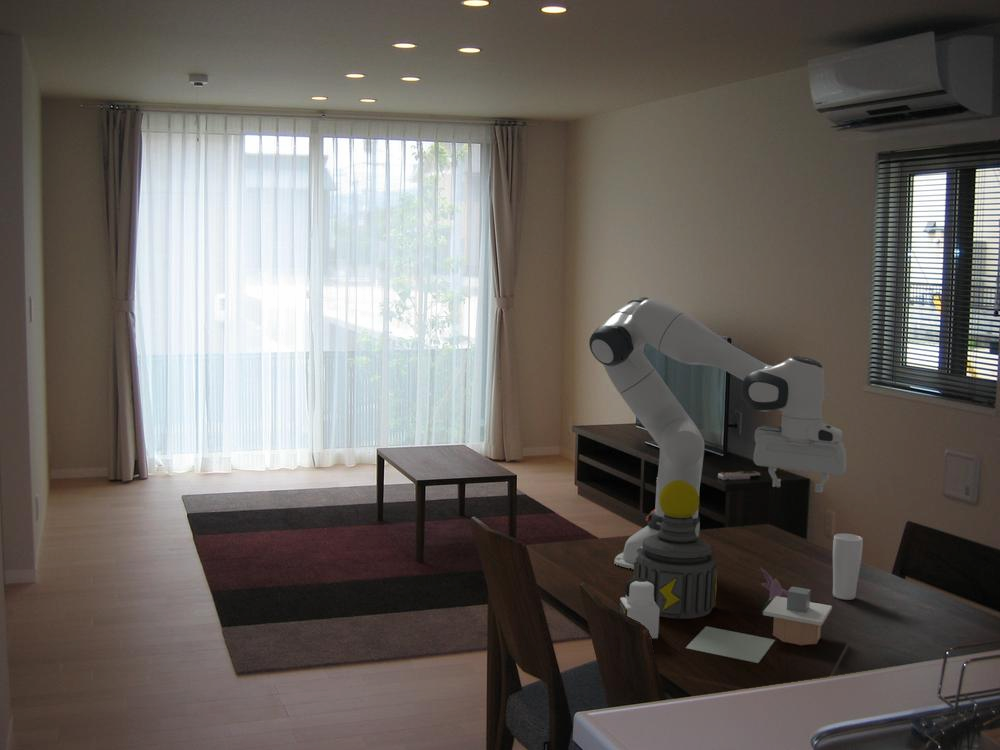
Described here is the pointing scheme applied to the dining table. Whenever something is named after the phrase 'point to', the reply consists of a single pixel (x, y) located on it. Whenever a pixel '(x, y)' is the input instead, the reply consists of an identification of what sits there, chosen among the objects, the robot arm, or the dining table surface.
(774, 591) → the lily
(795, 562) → the dining table surface
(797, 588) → the lid
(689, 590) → the decorative lamp
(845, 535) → the drinking glass
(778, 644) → the dining table surface
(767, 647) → the mat
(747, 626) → the dining table surface
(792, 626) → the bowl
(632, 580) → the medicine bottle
